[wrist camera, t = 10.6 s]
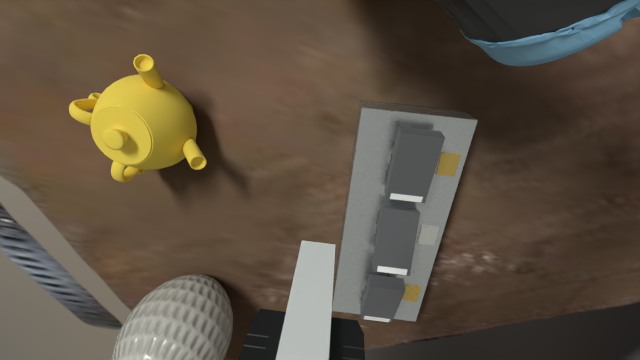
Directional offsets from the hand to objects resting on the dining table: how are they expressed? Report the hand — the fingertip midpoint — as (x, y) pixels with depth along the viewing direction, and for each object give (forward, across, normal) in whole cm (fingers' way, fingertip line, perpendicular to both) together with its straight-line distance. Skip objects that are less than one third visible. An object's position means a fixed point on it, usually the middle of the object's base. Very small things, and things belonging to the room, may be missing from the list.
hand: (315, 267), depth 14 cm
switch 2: (+26, +10, -15) cm, 32 cm away
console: (+32, +10, -15) cm, 37 cm away
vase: (+33, -21, -36) cm, 53 cm away
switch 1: (+25, +10, -4) cm, 27 cm away
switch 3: (+25, +10, -26) cm, 38 cm away
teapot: (+33, -24, -3) cm, 41 cm away
